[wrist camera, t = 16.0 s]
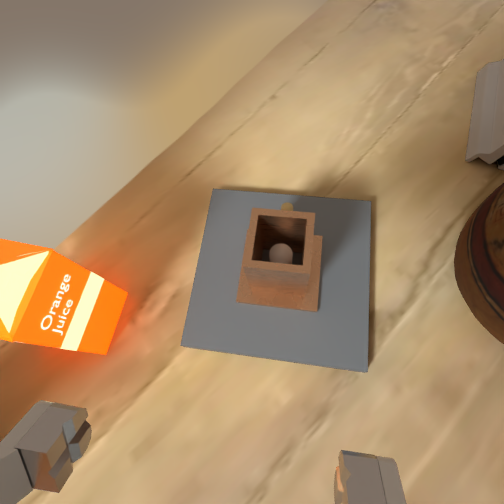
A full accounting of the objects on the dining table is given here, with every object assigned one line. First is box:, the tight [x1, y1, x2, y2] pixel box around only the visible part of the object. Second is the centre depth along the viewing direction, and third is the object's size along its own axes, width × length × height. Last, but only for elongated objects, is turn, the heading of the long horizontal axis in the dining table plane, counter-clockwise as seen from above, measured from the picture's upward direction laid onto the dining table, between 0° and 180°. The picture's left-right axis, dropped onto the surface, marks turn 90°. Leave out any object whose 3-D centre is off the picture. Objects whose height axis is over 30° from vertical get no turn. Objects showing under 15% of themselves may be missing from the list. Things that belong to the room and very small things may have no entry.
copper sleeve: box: [236, 208, 323, 312], centre depth 35 cm, size 9×9×9 cm
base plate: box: [180, 189, 371, 373], centre depth 37 cm, size 20×20×6 cm
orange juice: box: [0, 239, 128, 355], centre depth 31 cm, size 8×9×20 cm
